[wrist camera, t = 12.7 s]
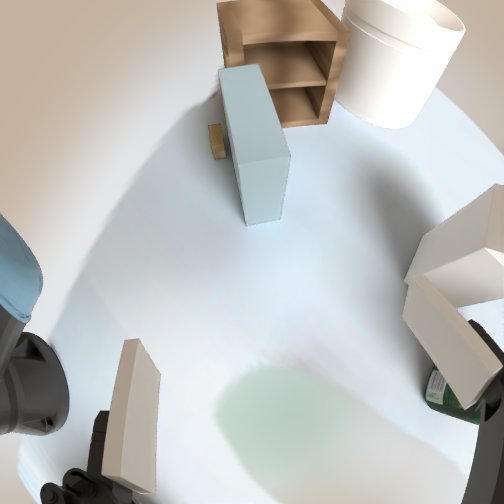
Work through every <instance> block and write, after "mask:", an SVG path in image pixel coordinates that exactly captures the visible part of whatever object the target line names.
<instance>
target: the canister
mask: <svg viewBox="0 0 504 504" xmlns="http://www.w3.org/2000/svg"><path fill="white" fill-rule="evenodd" d="M345 2H346V3H345V7H344V10H343V14H342V19H341V22H342V23H343V24H344V25H345V27H346V28H347V29H348V30H349V31H350V32H351V37H350V41H349V45H348V49H347V53H346V56H345V60H344V64H343V68H342V72H341V75H340V79H339V83H338V86H337V90H336V94H335V97H334V98H335V99H336V101H337V102H338V103H339V104H340V105H341V106H342V107H343V108H344V109H346V110H347V111H349V112H350V113H351V114H353V115H354V116H356V117H357V118H359V119H362V120H364V121H366V122H368V123H370V124H372V125H376V126H380V127H384V128H402V127H405V126H408V125H410V124H411V122H412V121H413V120H414V119H415V118H416V116H417V114H418V113H419V111H420V110H421V108H422V106H423V105H424V103H425V101H426V100H427V98H428V97H429V95H430V93H431V92H432V90H433V88H434V87H435V85H436V83H437V81H438V80H439V78H440V76H441V74H442V73H443V71H444V69H445V67H446V66H447V64H448V62H449V60H450V58H451V55H452V53H453V52H454V51H455V50H456V48H457V46H458V44H459V42H460V40H461V38H462V36H463V34H464V33H465V31H466V29H465V26H464V24H463V23H462V22H461V21H460V19H459V18H458V17H457V16H456V15H455V14H454V13H453V12H451V11H450V10H449V9H448V8H446V7H445V6H444V5H442V4H441V3H439V2H438V1H436V0H345Z"/></svg>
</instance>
